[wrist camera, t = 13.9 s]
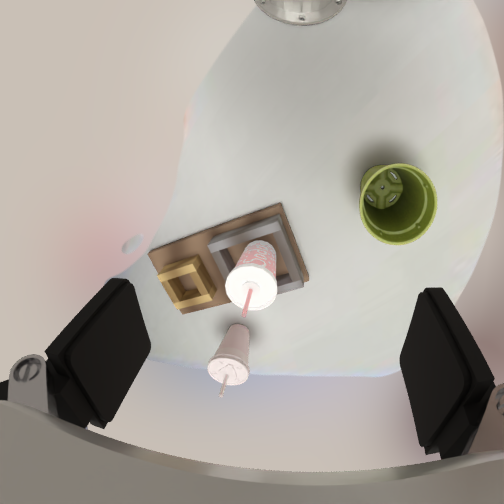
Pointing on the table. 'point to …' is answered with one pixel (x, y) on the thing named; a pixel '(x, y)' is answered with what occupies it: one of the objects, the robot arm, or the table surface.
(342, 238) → the table surface
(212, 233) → the fitting board
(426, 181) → the plant pot
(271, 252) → the beverage cup
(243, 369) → the smoothie
